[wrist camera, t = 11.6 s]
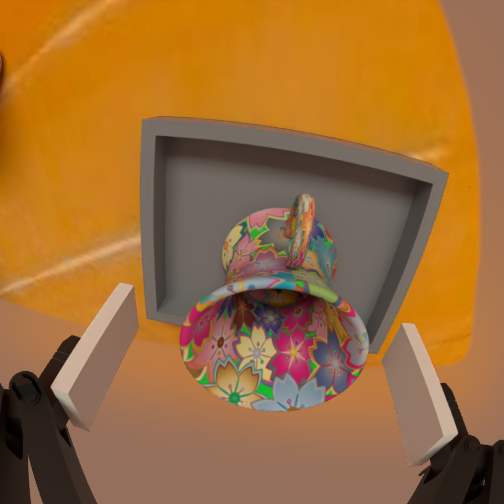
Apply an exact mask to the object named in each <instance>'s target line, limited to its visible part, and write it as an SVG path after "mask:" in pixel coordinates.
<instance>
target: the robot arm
mask: <svg viewBox="0 0 504 504" xmlns="http://www.w3.org/2000/svg"><path fill="white" fill-rule="evenodd" d="M138 329H139V325H138V317H137V309H136V301H135V292H134V285H130V284H125V283H119V284H118V286H117V287H116V288H115V290H114V291H113V292H112V294H111V295H110V297H109V298H108V299H107V301H106V302H105V304H104V305H103V307H102V308H101V309H100V311H99V312H98V314H97V315H96V317H95V318H94V320H93V321H92V322H91V324H90V325H89V327H88V328H87V330H86V331H85V333H84V335H83V336H82V337H81V338H79V337H76V336H73V335H71V336H70V337H69V338H68V339H66V340H65V341H63V342H62V344H61V345H60V347H59V348H58V350H57V352H56V353H55V354H54V356H53V358H52V359H51V360H50V361H49V363H48V364H47V366H46V368H45V369H44V371H43V372H42V374H41V375H40V377H39V378H37V376H36V375H35V374H34V373H32V372H29V371H21V372H19V373H17V374H15V375H14V376H13V377H12V379H11V380H10V383H9V389H10V390H9V389H4V388H3V387H2V385H1V384H0V504H31V499H30V488H29V474H28V456H29V460H30V463H31V467H32V471H33V474H34V478H35V481H36V484H37V487H38V490H39V493H40V496H41V499H42V502H43V504H97V502H96V500H95V498H94V496H93V494H92V492H91V489H90V487H89V485H88V483H87V480H86V478H85V475H84V473H83V470H82V468H81V465H80V463H79V460H78V457H77V455H76V452H75V449H74V446H73V443H72V441H71V438H70V435H69V432H68V428H67V426H66V424H67V422H68V420H69V419H70V421H71V423H72V424H73V426H76V427H78V428H81V429H83V430H86V431H88V432H89V431H90V428H91V426H92V424H93V422H94V419H95V417H96V415H97V412H98V411H99V408H100V406H101V404H102V402H103V400H104V398H105V395H106V393H107V391H108V389H109V387H110V385H111V383H112V380H113V379H114V376H115V374H116V372H117V370H118V368H119V366H120V364H121V362H122V360H123V358H124V356H125V354H126V352H127V350H128V348H129V346H130V344H131V342H132V340H133V338H134V336H135V335H136V333H137V331H138ZM382 363H383V367H384V370H385V373H386V377H387V381H388V384H389V388H390V392H391V395H392V399H393V403H394V407H395V410H396V415H397V419H398V423H399V427H400V431H401V436H402V440H403V444H404V449H405V454H406V459H407V464H408V467H413V466H419V465H423V464H424V463H425V462H427V461H428V460H429V459H430V462H431V465H429V466H428V467H427V468H426V469H424V470H423V471H422V472H421V473H420V474H419V476H421V475H422V474H424V473H425V474H424V476H423V477H422V480H421V481H420V483H419V485H418V486H417V488H416V490H415V492H414V493H413V495H412V497H411V499H410V500H409V502H408V504H504V440H499V441H497V442H496V443H495V444H494V445H493V446H490V445H483V444H480V442H479V440H478V439H477V438H476V437H474V436H472V435H469V434H468V432H467V429H466V426H465V424H464V421H463V418H462V416H461V413H460V410H459V409H458V405H457V402H455V397H454V395H453V392H452V390H451V389H450V388H449V387H448V385H447V384H446V383H440V382H439V380H438V377H437V375H436V372H435V370H434V367H433V365H432V363H431V360H430V358H429V356H428V353H427V351H426V349H425V346H424V344H423V342H422V340H421V338H420V335H419V333H418V331H417V329H416V327H415V325H414V324H408V323H402V324H401V326H400V328H399V330H398V332H397V333H396V335H395V337H394V339H393V341H392V343H391V345H390V347H389V349H388V350H387V352H386V354H385V356H384V358H383V359H382ZM484 480H485V482H484ZM483 484H484V485H483Z"/></svg>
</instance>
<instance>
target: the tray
mask: <svg viewBox="0 0 504 504" xmlns="http://www.w3.org/2000/svg"><path fill="white" fill-rule="evenodd" d="M448 175H449V173H447V172H445V171H443V170H442V169H440V168H438V167H436V166H434V165H432V164H431V163H427V162H424V161H421V160H418V159H414V158H411V157H408V156H404V155H401V154H397V153H394V152H390V151H386V150H382V149H379V148H375V147H371V146H367V145H363V144H359V143H354V142H350V141H345V140H341V139H336V138H332V137H327V136H322V135H317V134H312V133H306V132H301V131H295V130H289V129H283V128H277V127H270V126H263V125H256V124H248V123H240V122H231V121H222V120H211V119H200V118H186V117H169V116H158V117H153V118H147V119H143V120H142V135H141V163H140V220H141V248H142V266H143V281H144V293H145V304H146V315H147V319H151V320H156V321H160V322H165V323H169V324H174V325H178V326H183V323H184V321H185V319H186V317H187V315H188V314H189V312H190V311H191V309H192V308H193V307H194V306H195V305H196V304H197V303H198V302H199V301H200V300H202V299H203V298H204V297H205V296H207V295H208V294H210V293H211V292H213V291H215V290H217V289H219V288H220V287H221V286H222V285H223V283H224V282H225V280H226V276H225V274H224V270H223V266H222V250H223V246H224V243H225V240H226V238H227V236H228V234H229V233H230V231H231V230H232V229H233V228H234V226H235V225H236V224H237V223H239V222H240V221H241V220H242V219H244V218H245V217H247V216H249V215H250V214H252V213H255V212H257V211H260V210H264V209H269V208H289V209H291V208H292V205H293V202H294V200H295V198H296V197H297V195H299V194H308V195H311V196H312V197H313V198H314V200H315V217H314V219H316V220H317V221H318V222H319V223H320V224H322V225H323V226H324V228H325V229H326V230H327V231H328V233H329V234H330V236H331V237H332V239H333V242H334V244H335V248H336V252H337V266H336V271H335V274H334V277H333V279H332V281H331V283H330V284H331V287H332V289H333V291H334V292H335V293H336V294H337V295H338V296H340V297H341V298H343V299H344V300H345V301H346V302H347V303H349V304H350V305H351V306H352V308H353V309H354V310H355V311H356V312H357V313H358V315H359V316H360V317H361V319H362V321H363V323H364V325H365V328H366V330H367V334H368V339H369V352H368V353H373V354H377V353H378V351H379V349H380V347H381V346H382V344H383V342H384V340H385V338H386V336H387V334H388V332H389V330H390V328H391V326H392V324H393V322H394V320H395V318H396V315H397V313H398V311H399V309H400V307H401V305H402V302H403V300H404V298H405V296H406V294H407V291H408V289H409V287H410V284H411V282H412V280H413V277H414V275H415V272H416V270H417V267H418V265H419V262H420V260H421V257H422V255H423V252H424V249H425V247H426V244H427V241H428V239H429V236H430V233H431V230H432V227H433V224H434V221H435V218H436V215H437V212H438V209H439V206H440V203H441V199H442V196H443V193H444V189H445V186H446V182H447V179H448Z"/></svg>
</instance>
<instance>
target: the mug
mask: <svg viewBox="0 0 504 504" xmlns="http://www.w3.org/2000/svg"><path fill="white" fill-rule="evenodd" d="M314 217H315V200H314V198H313V197H312V196H311V195H308V194H299V195H297V197H296V198H295V200H294V202H293V205H292V208H291V209H289V208H269V209H264V210H260V211H257V212H255V213H252V214H250V215H249V216H247V217H245V218H244V219H242V220H241V221H240V222H239V223H237V224H236V225H235V226H234V228H233V229H232V230H231V231H230V233H229V234H228V236H227V238H226V240H225V243H224V246H223V250H222V266H223V270H224V274H225V276H226V280H225V282H224V283H223V285H222V286H221V287H220V288H219V289H217V290H215V291H213V292H211V293H210V294H208V295H207V296H205V297H204V298H203V299H202V300H200V301H199V302H198V303H197V304H196V305H195V306H194V307H193V308H192V309H191V311H190V312H189V314H188V315H187V317H186V319H185V321H184V323H183V326H182V328H181V333H180V350H181V355H182V358H183V360H184V363H185V365H186V367H187V369H188V370H189V371H190V373H191V374H192V376H193V377H194V378H195V379H196V380H197V381H198V382H199V383H200V384H201V385H202V386H203V387H204V388H206V389H207V390H208V391H210V392H211V393H213V394H214V395H216V396H217V397H220V398H221V399H223V400H225V401H228V402H230V403H233V404H235V405H238V406H241V407H246V408H249V409H255V410H260V411H272V412H282V411H294V410H300V409H305V408H309V407H313V406H316V405H319V404H321V403H323V402H326V401H328V400H330V399H332V398H334V397H335V396H337V395H339V394H340V393H342V392H343V391H344V390H345V389H347V388H348V387H349V386H350V385H351V384H352V383H353V382H354V381H355V380H356V379H357V377H358V376H359V374H360V373H361V372H362V370H363V368H364V366H365V363H366V360H367V357H368V352H369V339H368V334H367V330H366V328H365V325H364V323H363V321H362V319H361V317H360V316H359V315H358V313H357V312H356V311H355V310H354V309H353V308H352V306H351V305H350V304H349V303H347V302H346V301H345V300H344V299H343V298H341V297H340V296H338V295H337V294H336V293H335V292H334V291H333V289H332V287H331V284H330V283H331V281H332V279H333V277H334V274H335V271H336V266H337V252H336V248H335V244H334V242H333V239H332V237H331V236H330V234H329V233H328V231H327V230H326V229H325V228H324V226H323V225H322V224H320V223H319V222H318V221H317V220H316V219H314Z"/></svg>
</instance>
